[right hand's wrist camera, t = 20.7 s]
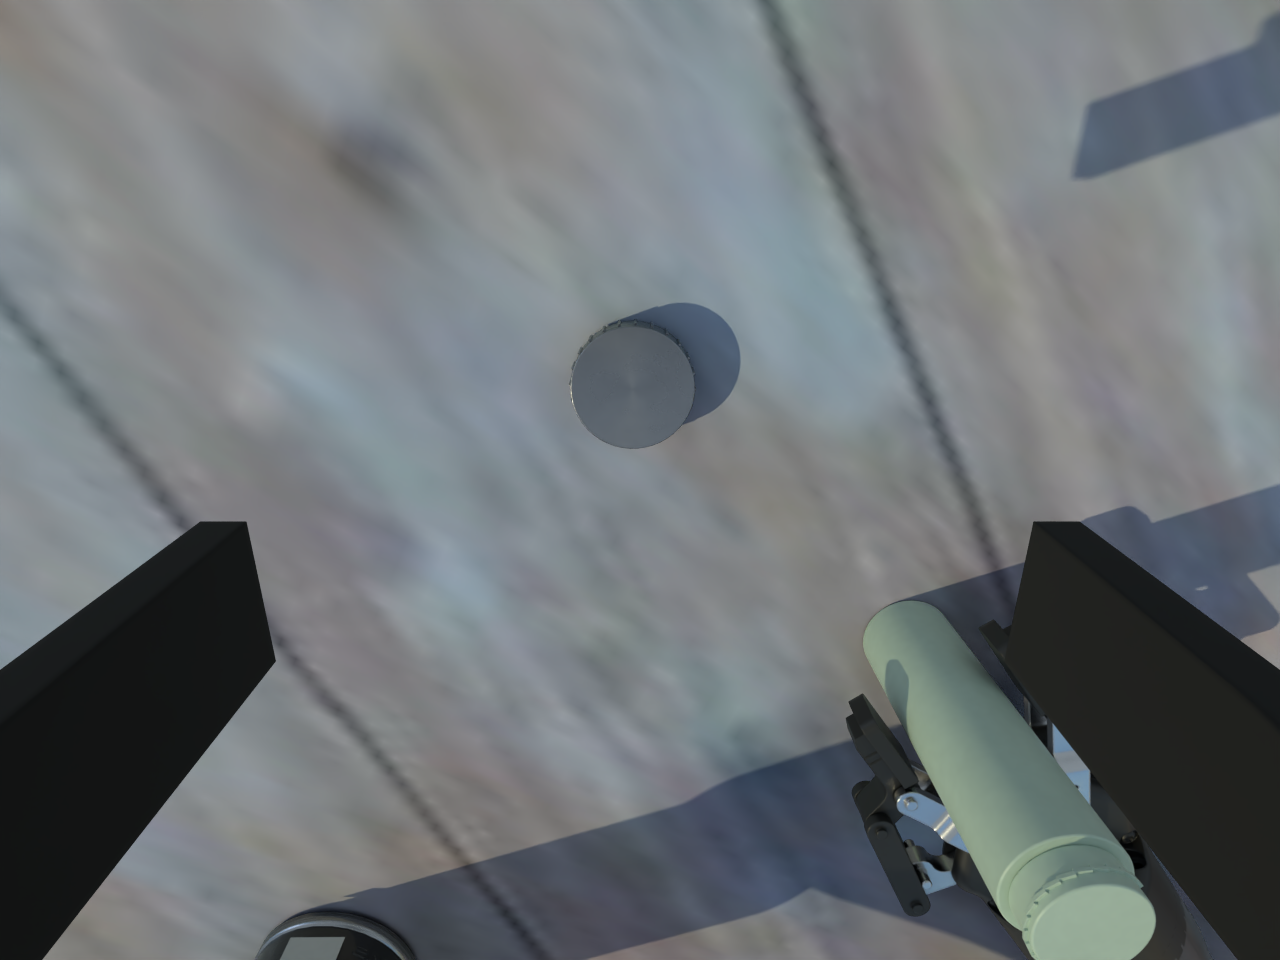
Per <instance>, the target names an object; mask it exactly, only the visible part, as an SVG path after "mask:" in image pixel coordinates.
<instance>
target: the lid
mask: <svg viewBox="0 0 1280 960" xmlns="http://www.w3.org/2000/svg"><path fill="white" fill-rule="evenodd" d="M578 354H579V356H578V358H577V361H576V362H574V363H573V366H572V369H573V372H572V376H571V380H570V383H569V385H570V388H571V401H572V403H573V406H574V409H575V411H576V413H577V416H578V417H579V419H580V421H581V422H582V424H583V425H584V426H585V427H586V428H587V429H588V430H589V431H590V432H591V433H592V434H593V435H594V436H596V437H597V438H599V439H600V440H602V441H604V442H606V443H608V444H611V445H613V446H617V447H621V448H629V449H633V448H644V447H649V446H652V445H655V444H657V443H660V442H662V441H663V440H665V439H667V438H668V437H670V436H671V435H672V434H674V433H675V432H676V431H677V430H678V429H679V428H680V427H681V425H682V424H683V423H684V421H685V420H686V418H687V416H688V414H689V412H690V410H691V407H692V406H693V400H694V394H695V391H696V388H695V382H694V375H695V372H694V369H693V367H691V365H690V362H689V360H690V357H689V355H688V352H686V353H685V351H684V349H683V348H682V346H681V343H680V341H679V339H677V340H676V339H675V338H674V337H673V336H672V335H671V334H669V333H668V330H667V329H665V330H663V329H662V328H660V327H658V326H655V325H653V322H650V323H646V322H640V321H637V319H634V321H625V322H621V320H619V321H618V323H616V324H612V325H610V326H608V327H606V326H603V328H602V330H600V331H599V332H597V333H596V334H595V335H594V336H592V335H591V336H590V337H589V340H588V342H587V343H586V344H585V346H584V347H583V348H582V347H581V348H580V350H579V352H578Z"/></svg>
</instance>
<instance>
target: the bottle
mask: <svg viewBox="0 0 1280 960" xmlns="http://www.w3.org/2000/svg"><path fill="white" fill-rule="evenodd" d="M863 648H864V652H865V655H866V657H867V659H868V661H869V663H870V665H871V667H872V668H873V670H874V672H875V674H876V676H877V678H878V680H879V682H880V684H881V686H882V688H883V689H884V691H885V693H886V695H887V697H888V699H889V701H890V703H891V705H892V707H893V709H894V710H895V712H896V714H897V716H898V718H899V720H900V722H901V724H902V726H903V728H904V730H905V731H906V733H907V735H908V737H909V739H910V741H911V743H912V745H913V747H914V749H915V751H916V752H917V754H918V756H919V758H920V760H921V762H922V764H923V766H924V768H925V770H926V771H927V773H928V775H929V777H930V779H931V781H932V783H933V785H934V787H935V789H936V791H937V792H938V794H939V796H940V798H941V800H942V802H943V804H944V806H945V808H946V810H947V812H948V813H949V815H950V817H951V819H952V821H953V823H954V825H955V827H956V829H957V831H958V833H959V834H960V836H961V838H962V840H963V842H964V844H965V846H966V848H967V850H968V852H969V854H970V855H971V857H972V859H973V861H974V863H975V865H976V867H977V869H978V871H979V873H980V875H981V876H982V878H983V880H984V882H985V884H986V886H987V888H988V890H989V892H990V894H991V895H992V897H993V899H994V901H995V903H996V905H997V907H998V909H999V911H1000V912H1001V914H1002V916H1003V917H1004V918H1005V919H1006V920H1007V921H1008V922H1009V923H1010V924H1011V925H1013V926H1014V927H1016V928H1017V929H1019V930H1021V931H1022V938H1023V940H1024V942H1025V944H1026V946H1027V948H1028V951H1029V952H1030V954H1031V956H1032V957H1033V958H1034V959H1035V960H1131V959H1132V958H1134V957H1135V956H1136V955H1137V954H1139V953H1140V952H1141V951H1142V950H1143V949H1144V947H1145V946H1146V945H1147V944H1148V942H1149V941H1150V939H1151V937H1152V935H1153V933H1154V930H1155V926H1156V915H1155V911H1154V907H1153V905H1152V904H1151V902H1150V900H1149V899H1148V898H1147V896H1146V895H1145V894H1144V892H1143V891H1142V890H1141V888H1142V887H1143V884H1142V883H1141V882H1140V881H1139V880H1138V879H1137V878H1136V876H1135V872H1134V867H1133V863H1132V860H1131V858H1130V856H1129V855H1128V854H1127V852H1126V851H1125V850H1124V848H1123V847H1122V846H1121V844H1120V843H1119V842H1118V841H1117V839H1116V838H1115V837H1114V835H1113V834H1112V833H1111V831H1110V830H1109V829H1108V828H1107V826H1106V825H1105V824H1104V822H1103V821H1102V820H1101V819H1100V817H1099V816H1098V815H1097V813H1096V812H1095V811H1094V809H1093V808H1092V807H1091V806H1090V804H1089V803H1088V802H1087V800H1086V799H1085V798H1084V797H1083V795H1082V794H1081V793H1080V791H1079V790H1078V789H1077V787H1076V786H1075V785H1074V784H1073V782H1072V781H1071V780H1070V778H1069V777H1068V776H1067V774H1066V773H1065V772H1064V771H1063V769H1062V768H1061V767H1060V765H1059V764H1058V763H1057V762H1056V760H1055V759H1054V758H1053V756H1052V755H1051V754H1050V752H1049V751H1048V750H1047V749H1046V747H1045V746H1044V745H1043V743H1042V742H1041V741H1040V740H1039V738H1038V737H1037V736H1036V734H1035V733H1034V732H1033V730H1032V729H1031V728H1030V727H1029V725H1028V724H1027V723H1026V721H1025V720H1024V719H1023V717H1022V716H1021V715H1020V714H1019V712H1018V711H1017V710H1016V708H1015V707H1014V706H1013V705H1012V703H1011V702H1010V701H1009V699H1008V698H1007V697H1006V695H1005V694H1004V693H1003V692H1002V690H1001V689H1000V688H999V686H998V685H997V684H996V683H995V681H994V680H993V679H992V677H991V676H990V675H989V673H988V672H987V671H986V670H985V668H984V667H983V666H982V664H981V663H980V662H979V660H978V659H977V658H976V657H975V655H974V654H973V653H972V651H971V650H970V649H969V648H968V646H967V645H966V644H965V642H964V641H963V640H962V638H961V637H960V636H959V635H958V633H957V632H956V631H955V629H954V628H953V627H952V626H951V624H950V623H949V622H948V620H947V619H946V618H945V616H944V615H943V614H942V613H941V612H940V611H939V610H938V609H937V608H935V607H934V606H932V605H930V604H927V603H925V602H920V601H902V602H898V603H894V604H892V605H889V606H887V607H886V608H884V609H882V610H881V611H880V612H878V613H877V614H876V615H875V616H874V617H873V618H872V620H871V621H870V622H869V624H868V626H867V628H866V630H865V633H864V637H863Z"/></svg>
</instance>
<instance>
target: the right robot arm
mask: <svg viewBox="0 0 1280 960" xmlns="http://www.w3.org/2000/svg"><path fill="white" fill-rule="evenodd" d="M275 662H276V660H275V655H274V650H273V645H272V641H271V636H270V631H269V626H268V622H267V617H266V612H265V607H264V603H263V598H262V593H261V588H260V584H259V579H258V574H257V570H256V565H255V560H254V555H253V551H252V546H251V541H250V536H249V532H248V527H247V522H199V523H198V524H197V525H195V526H194V527H192V528H191V529H190V530H188V531H187V532H186V533H184V534H183V535H182V536H180V537H179V538H178V539H176V540H175V541H174V542H172V543H171V544H170V545H168V546H167V547H165V548H164V549H163V550H161V551H160V552H159V553H157V554H156V555H155V556H153V557H152V558H151V559H149V560H148V561H147V562H145V563H144V564H143V565H141V566H140V567H138V568H137V569H136V570H134V571H133V572H132V573H130V574H129V575H128V576H126V577H125V578H124V579H122V580H121V581H120V582H118V583H117V584H116V585H114V586H113V587H111V588H110V589H109V590H107V591H106V592H105V593H103V594H102V595H101V596H99V597H98V598H97V599H95V600H94V601H93V602H91V603H90V604H89V605H87V606H86V607H84V608H83V609H82V610H80V611H79V612H78V613H76V614H75V615H74V616H72V617H71V618H70V619H68V620H67V621H66V622H64V623H63V624H62V625H60V626H59V627H57V628H56V629H55V630H53V631H52V632H51V633H49V634H48V635H47V636H45V637H44V638H43V639H41V640H40V641H39V642H37V643H36V644H35V645H33V646H32V647H30V648H29V649H28V650H26V651H25V652H24V653H22V654H21V655H20V656H18V657H17V658H16V659H14V660H13V661H12V662H10V663H9V664H8V665H6V666H5V667H3V668H2V669H1V670H0V960H42V959H43V958H44V957H45V955H46V954H47V953H48V952H49V950H50V949H51V948H52V947H53V945H54V944H55V943H56V941H57V940H58V939H59V938H60V936H61V935H62V934H63V932H64V931H65V930H66V929H67V927H68V926H69V925H70V924H71V922H72V921H73V920H74V918H75V917H76V916H77V915H78V913H79V912H80V911H81V909H82V908H83V907H84V906H85V904H86V903H87V902H88V901H89V899H90V898H91V897H92V895H93V894H94V893H95V892H96V890H97V889H98V888H99V886H100V885H101V884H102V883H103V881H104V880H105V879H106V878H107V876H108V875H109V874H110V872H111V871H112V870H113V869H114V867H115V866H116V865H117V863H118V862H119V861H120V860H121V858H122V857H123V856H124V855H125V853H126V852H127V851H128V849H129V848H130V847H131V846H132V844H133V843H134V842H135V840H136V839H137V838H138V837H139V835H140V834H141V833H142V832H143V830H144V829H145V828H146V826H147V825H148V824H149V823H150V821H151V820H152V819H153V817H154V816H155V815H156V814H157V812H158V811H159V810H160V809H161V807H162V806H163V805H164V803H165V802H166V801H167V800H168V798H169V797H170V796H171V795H172V793H173V792H174V791H175V789H176V788H177V787H178V786H179V784H180V783H181V782H182V780H183V779H184V778H185V777H186V775H187V774H188V773H189V772H190V770H191V769H192V768H193V766H194V765H195V764H196V763H197V761H198V760H199V759H200V757H201V756H202V755H203V754H204V752H205V751H206V750H207V749H208V747H209V746H210V745H211V743H212V742H213V741H214V740H215V738H216V737H217V736H218V734H219V733H220V732H221V731H222V729H223V728H224V727H225V726H226V724H227V723H228V722H229V720H230V719H231V718H232V717H233V715H234V714H235V713H236V711H237V710H238V709H239V708H240V706H241V705H242V704H243V703H244V701H245V700H246V699H247V697H248V696H249V695H250V694H251V692H252V691H253V690H254V688H255V687H256V686H257V685H258V683H259V682H260V681H261V680H262V678H263V677H264V676H265V674H266V673H267V672H268V671H269V669H270V668H271V667H272V665H273V664H274V663H275ZM1004 662H1005V663H1006V664H1007V665H1008V667H1009V668H1010V669H1011V671H1012V672H1013V673H1014V674H1015V676H1016V677H1017V678H1018V680H1019V681H1020V682H1021V683H1022V685H1023V686H1024V687H1025V688H1026V690H1027V691H1028V692H1029V694H1030V695H1031V696H1032V697H1033V699H1034V700H1035V701H1036V703H1037V704H1038V705H1039V706H1040V708H1041V709H1042V710H1043V711H1044V713H1045V714H1046V715H1047V717H1048V718H1049V719H1050V720H1051V722H1052V723H1053V724H1054V726H1055V727H1056V728H1057V729H1058V731H1059V732H1060V733H1061V734H1062V736H1063V737H1064V738H1065V740H1066V741H1067V742H1068V743H1069V745H1070V746H1071V747H1072V749H1073V750H1074V751H1075V752H1076V754H1077V755H1078V756H1079V757H1080V759H1081V760H1082V761H1083V763H1084V764H1085V765H1086V766H1087V768H1088V769H1089V770H1090V772H1091V773H1092V774H1093V775H1094V777H1095V778H1096V779H1097V780H1098V782H1099V783H1100V784H1101V786H1102V787H1103V788H1104V789H1105V791H1106V792H1107V793H1108V795H1109V796H1110V797H1111V798H1112V800H1113V801H1114V802H1115V803H1116V805H1117V806H1118V807H1119V809H1120V810H1121V811H1122V812H1123V814H1124V815H1125V816H1126V817H1127V819H1128V820H1129V821H1130V823H1131V824H1132V825H1133V826H1134V828H1135V829H1136V830H1137V832H1138V833H1139V834H1140V835H1141V837H1142V838H1143V839H1144V840H1145V842H1146V843H1147V844H1148V846H1149V847H1150V848H1151V849H1152V851H1153V852H1154V853H1155V855H1156V856H1157V857H1158V858H1159V860H1160V861H1161V862H1162V863H1163V865H1164V866H1165V867H1166V869H1167V870H1168V871H1169V872H1170V874H1171V875H1172V876H1173V878H1174V879H1175V880H1176V881H1177V883H1178V884H1179V885H1180V886H1181V888H1182V889H1183V890H1184V892H1185V893H1186V894H1187V895H1188V897H1189V898H1190V899H1191V901H1192V902H1193V903H1194V904H1195V906H1196V907H1197V908H1198V909H1199V911H1200V912H1201V913H1202V915H1203V916H1204V917H1205V918H1206V920H1207V921H1208V922H1209V924H1210V925H1211V926H1212V927H1213V929H1214V930H1215V931H1216V932H1217V934H1218V935H1219V936H1220V938H1221V939H1222V940H1223V941H1224V943H1225V944H1226V945H1227V947H1228V948H1229V949H1230V950H1231V952H1232V953H1233V954H1234V955H1235V957H1236V958H1237V959H1238V960H1280V670H1279V669H1278V668H1277V667H1275V666H1274V665H1272V664H1271V663H1270V662H1268V661H1267V660H1266V659H1264V658H1263V657H1262V656H1260V655H1259V654H1258V653H1256V652H1255V651H1254V650H1252V649H1251V648H1250V647H1248V646H1247V645H1245V644H1244V643H1243V642H1241V641H1240V640H1239V639H1237V638H1236V637H1235V636H1233V635H1232V634H1231V633H1229V632H1228V631H1227V630H1225V629H1224V628H1223V627H1221V626H1220V625H1218V624H1217V623H1216V622H1214V621H1213V620H1212V619H1210V618H1209V617H1208V616H1206V615H1205V614H1204V613H1202V612H1201V611H1200V610H1198V609H1197V608H1196V607H1194V606H1193V605H1191V604H1190V603H1189V602H1187V601H1186V600H1185V599H1183V598H1182V597H1181V596H1179V595H1178V594H1177V593H1175V592H1174V591H1173V590H1171V589H1170V588H1169V587H1167V586H1166V585H1164V584H1163V583H1162V582H1160V581H1159V580H1158V579H1156V578H1155V577H1154V576H1152V575H1151V574H1150V573H1148V572H1147V571H1146V570H1144V569H1143V568H1142V567H1140V566H1139V565H1137V564H1136V563H1135V562H1133V561H1132V560H1131V559H1129V558H1128V557H1127V556H1125V555H1124V554H1123V553H1121V552H1120V551H1119V550H1117V549H1116V548H1115V547H1113V546H1112V545H1110V544H1109V543H1108V542H1106V541H1105V540H1104V539H1102V538H1101V537H1100V536H1098V535H1097V534H1096V533H1094V532H1093V531H1092V530H1090V529H1089V528H1088V527H1086V526H1085V525H1083V524H1082V523H1081V522H1033V527H1032V532H1031V536H1030V541H1029V546H1028V551H1027V555H1026V560H1025V565H1024V570H1023V574H1022V579H1021V584H1020V589H1019V593H1018V598H1017V603H1016V607H1015V612H1014V617H1013V622H1012V626H1011V631H1010V636H1009V641H1008V645H1007V650H1006V655H1005V660H1004Z"/></svg>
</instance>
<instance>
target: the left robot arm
mask: <svg viewBox="0 0 1280 960" xmlns="http://www.w3.org/2000/svg"><path fill="white" fill-rule="evenodd" d="M1011 626H1012V625H1010V626H1008V627H1007V628H1005V629H1002V628H1001V627H1000V626H999V625H998V624H997V622H996V621H995V620H992V621H990V622H988V623H986V624H985V625H983V626H981V627H979V630H980V632H981V633H982V635H983V636H984V638H985V639H986V641H987V642H988V644H989V645H990V647H991V649H992V650H993V652H994V653H995V655H996V656H997V658H998V659H999V661H1000V662H1001V664H1002V665H1003V667H1004V669H1005V670H1006V672H1007V673H1008V675H1009V676H1010V678H1011V679H1012V681H1013V682H1014V684H1015V685H1016V687H1017V688H1018V689H1019V690H1020V692H1021V693H1022V694H1023V696H1024V717H1023V719H1024V720H1025V721H1026V723H1027V724H1028V725H1029V727H1030V728H1031V729H1032V730H1033V732H1034V733H1035V734H1036V736H1037V737H1038V738H1039V740H1040V741H1041V742H1042V743H1043V745H1044V746H1045V747H1046V749H1047V750H1048V751H1049V752H1050V754H1051V755H1052V756H1053V758H1054V759H1055V760H1056V762H1057V763H1058V764H1059V765H1060V767H1061V768H1062V769H1063V771H1064V772H1065V773H1066V774H1067V776H1068V777H1069V778H1070V780H1071V781H1072V782H1073V784H1074V785H1075V786H1076V787H1077V789H1078V790H1079V791H1080V793H1081V794H1082V795H1083V797H1084V798H1085V799H1086V800H1087V802H1088V803H1089V804H1090V806H1091V807H1092V808H1093V809H1094V811H1095V812H1096V813H1097V815H1098V816H1099V817H1100V819H1101V820H1102V821H1103V822H1104V824H1105V825H1106V826H1107V828H1108V829H1109V830H1110V831H1111V833H1112V834H1113V835H1114V837H1115V838H1116V839H1117V841H1118V842H1119V843H1120V844H1121V846H1122V847H1123V848H1124V850H1125V851H1126V852H1127V854H1128V855H1129V856H1130V858H1131V860H1132V863H1133V867H1134V872H1135V876H1136V878H1137V879H1138V880H1139V881H1140V882H1141V883H1142V884H1143V887H1142V888H1141V890H1142V891H1143V892H1144V894H1145V895H1146V896H1147V898H1148V899H1149V900H1150V902H1151V904H1152V905H1153V907H1154V911H1155V915H1156V926H1155V930H1154V933H1153V935H1152V937H1151V939H1150V941H1149V942H1148V944H1147V945H1146V946H1145V947H1144V949H1143V950H1142V951H1141V952H1140V953H1139V954H1137V955H1136V956H1135V957H1134V958H1132V959H1131V960H1213V958H1212V957H1211V955H1210V954H1209V952H1208V949H1207V946H1206V943H1205V941H1204V938H1203V936H1202V934H1201V931H1200V929H1199V927H1198V925H1197V924H1196V922H1195V920H1194V918H1193V917H1192V915H1191V913H1190V912H1189V910H1188V908H1187V907H1186V905H1185V904H1184V902H1183V901H1182V899H1181V897H1180V896H1179V894H1178V893H1177V891H1176V890H1175V888H1174V886H1173V885H1172V883H1171V881H1170V880H1169V878H1168V877H1167V875H1166V873H1165V872H1164V870H1163V869H1162V867H1161V866H1160V864H1159V862H1158V861H1157V859H1156V858H1155V856H1154V854H1153V853H1152V851H1151V850H1150V848H1149V846H1148V845H1147V843H1146V842H1145V840H1144V839H1143V838H1142V837H1141V835H1140V834H1139V833H1138V832H1137V830H1136V829H1135V828H1134V826H1133V825H1132V824H1131V823H1130V821H1129V820H1128V819H1127V817H1126V816H1125V815H1124V814H1123V812H1122V811H1121V810H1120V809H1119V807H1118V806H1117V805H1116V803H1115V802H1114V801H1113V800H1112V798H1111V797H1110V796H1109V795H1108V793H1107V792H1106V791H1105V789H1104V788H1103V787H1102V786H1101V784H1100V783H1099V782H1098V780H1097V779H1096V778H1095V777H1094V775H1093V774H1092V773H1091V772H1090V770H1089V769H1088V768H1087V766H1086V765H1085V764H1084V763H1083V761H1082V760H1081V759H1080V757H1079V756H1078V755H1077V754H1076V752H1075V751H1074V750H1073V749H1072V747H1071V746H1070V745H1069V743H1068V742H1067V741H1066V740H1065V738H1064V737H1063V736H1062V734H1061V733H1060V732H1059V731H1058V729H1057V728H1056V727H1055V726H1054V724H1053V723H1052V722H1051V720H1050V719H1049V718H1048V717H1047V715H1046V714H1045V713H1044V711H1043V710H1042V709H1041V708H1040V706H1039V705H1038V704H1037V703H1036V701H1035V700H1034V699H1033V697H1032V696H1031V695H1030V694H1029V692H1028V691H1027V690H1026V688H1025V687H1024V686H1023V685H1022V683H1021V682H1020V681H1019V680H1018V678H1017V677H1016V676H1015V674H1014V673H1013V672H1012V671H1011V669H1010V668H1009V667H1008V665H1007V664H1006V663H1005V662H1004V660H1005V655H1006V650H1007V645H1008V641H1009V636H1010V631H1011ZM849 704H850V707H851V709H852V711H853V714H852V715H850V716H848V717H847V718H846V722H847V727H848V730H849V732H850V735H851V737H852V740H853V742H854V744H855V747H856V749H857V751H858V752H859V753H860V755H861V756H862V757H863V758H864V760H865V761H866V763H867V764H868V765H869V767H870V768H871V769H872V771H873V772H874V773H875V774H876V775H875V777H874V778H873V779H872V780H871V781H862V782H859V783H857V784H856V785H855V786H854V787H853V789H852V796H853V798H854V801H855V804H856V806H857V808H858V810H859V812H860V814H861V817H862V819H863V822H864V828H865V830H866V833H867V836H868V838H869V840H870V842H871V844H872V846H873V848H874V850H875V852H876V855H877V857H878V859H879V861H880V863H881V865H882V867H883V869H884V871H885V873H886V875H887V877H888V879H889V881H890V883H891V885H892V887H893V889H894V891H895V893H896V895H897V897H898V899H899V901H900V903H901V905H902V908H903V910H904V911H905V913H906V914H908V915H910V916H921V915H923V914H925V913H926V912H928V910H929V909H930V902H929V899H928V897H927V895H928V894H931V893H934V892H936V891H939V890H942V889H945V888H948V887H951V886H954V885H956V884H957V885H958V886H959V887H960V888H961V889H963V890H965V891H966V892H969V893H972V894H974V895H977V896H978V897H980V898H981V899H982V900H983V901H984V902H985V903H986V904H987V906H988V907H989V908H990V910H991V911H992V912H993V914H994V915H995V916H996V918H997V919H998V920H999V922H1000V923H1001V924H1002V926H1003V927H1004V928H1005V930H1006V931H1007V932H1008V934H1009V935H1010V936H1011V937H1012V939H1013V940H1014V941H1015V943H1016V944H1017V945H1018V947H1019V948H1020V950H1021V951H1022V952H1023V954H1024V955H1025V956H1026V958H1027V959H1028V960H1035V959H1034V958H1033V957H1032V956H1031V954H1030V952H1029V951H1028V948H1027V946H1026V944H1025V942H1024V940H1023V938H1022V931H1021V930H1019V929H1017V928H1016V927H1014V926H1013V925H1011V924H1010V923H1009V922H1008V921H1007V920H1006V919H1005V918H1004V917H1003V916H1002V914H1001V912H1000V911H999V909H998V907H997V905H996V903H995V901H994V899H993V897H992V895H991V894H990V892H989V890H988V888H987V886H986V884H985V882H984V880H983V878H982V876H981V875H980V873H979V871H978V869H977V867H976V865H975V863H974V861H973V859H972V857H971V855H970V854H969V852H968V850H967V848H966V846H965V844H964V842H963V840H962V838H961V836H960V834H959V833H958V831H957V829H956V827H955V825H954V823H953V821H952V819H951V817H950V815H949V813H948V812H947V810H946V808H945V806H944V804H943V802H942V800H941V798H940V796H939V794H938V792H937V791H936V789H935V787H934V785H933V783H932V781H931V779H930V777H929V775H928V773H927V771H926V770H925V768H924V766H922V765H920V764H918V763H916V762H914V761H912V760H910V759H908V758H907V756H906V754H905V752H904V750H903V748H902V746H901V745H900V743H899V742H898V741H897V739H896V738H895V736H894V735H893V734H892V732H891V731H890V730H889V728H888V727H887V726H886V724H885V723H884V721H883V720H882V719H881V717H880V716H879V715H878V713H877V712H876V711H875V709H874V708H873V706H872V705H871V704H870V702H869V701H868V700H867V698H866V697H865V696H864V695H863V694H861V695H859V696H858V697H856V698H854V699H852V700H851V701H849ZM903 815H906V816H908V817H910V818H912V819H914V820H916V821H919V822H921V823H923V824H925V825H927V826H929V827H931V828H932V829H933V830H935V831H936V833H937V834H938V835H939V836H940V837H941V838H942V839H943V840H944V843H943V850H942V852H943V855H939V856H934V855H931V854H929V853H927V851H926V850H925V849H924V848H923V847H921V846H915V844H914V841H913V840H911V839H907V840H905V841H904V843H903V840H902V838H901V836H900V834H899V832H898V830H897V828H896V826H895V823H896V822H897V821H898V820H899V819H900V818H901V817H902V816H903ZM255 960H415V958H414V956H413V954H412V952H411V950H410V949H409V948H408V946H407V945H406V944H405V943H404V941H403V940H402V939H400V938H399V937H398V936H397V935H396V934H395V933H393V932H392V931H391V930H389V929H388V928H386V927H384V926H383V925H381V924H379V923H377V922H375V921H372V920H370V919H367V918H364V917H361V916H358V915H353V914H349V913H342V912H315V913H309V914H304V915H301V916H297V917H294V918H292V919H290V920H287V921H286V922H284V923H282V924H281V925H279V926H278V927H276V928H275V929H274V930H273V931H272V932H271V933H270V934H269V935H268V936H267V938H266V939H265V940H264V942H263V944H262V946H261V948H260V950H259V952H258V954H257V956H256V958H255Z"/></svg>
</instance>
